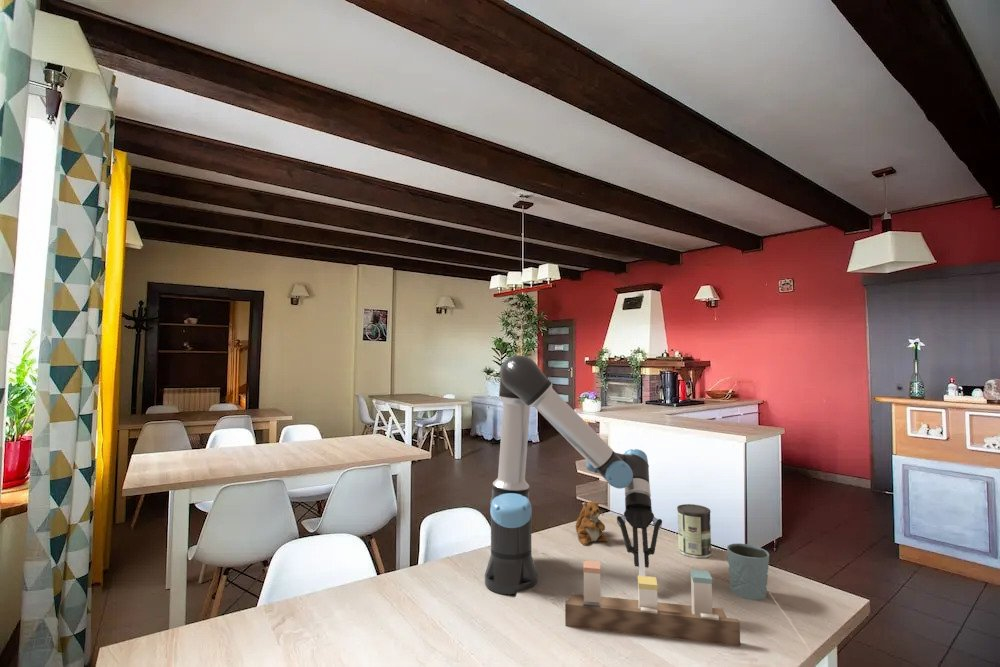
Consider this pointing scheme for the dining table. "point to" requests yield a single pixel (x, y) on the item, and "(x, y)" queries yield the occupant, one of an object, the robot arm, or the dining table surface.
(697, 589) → the button
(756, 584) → the blue-grey embossed cup
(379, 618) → the dining table surface
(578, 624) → the button console
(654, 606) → the middle button
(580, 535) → the stuffed squirrel
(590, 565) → the button
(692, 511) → the coffee can
